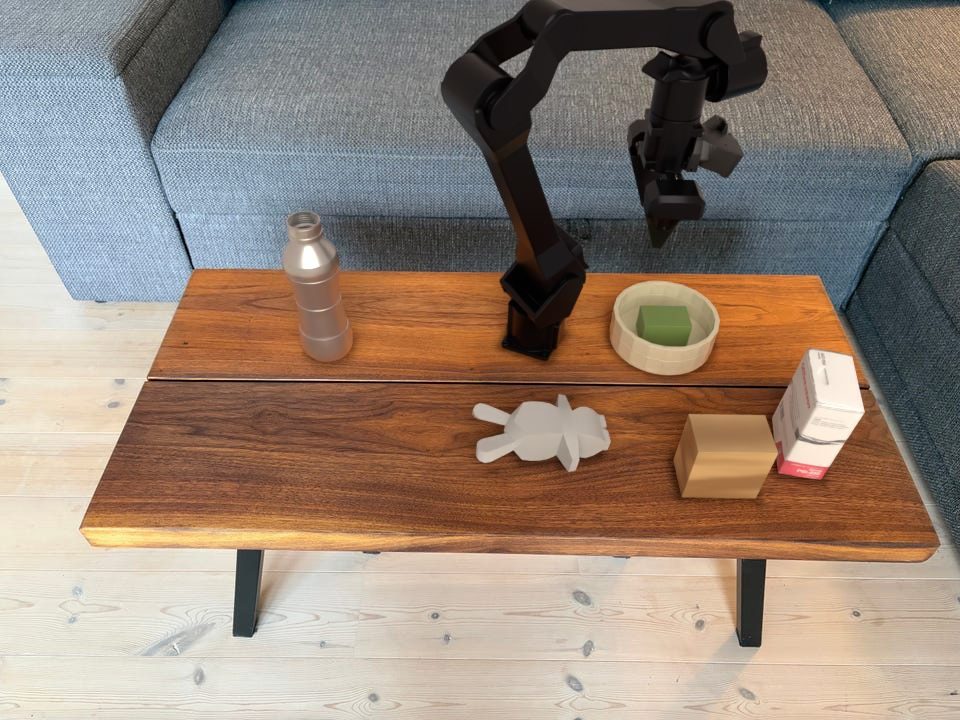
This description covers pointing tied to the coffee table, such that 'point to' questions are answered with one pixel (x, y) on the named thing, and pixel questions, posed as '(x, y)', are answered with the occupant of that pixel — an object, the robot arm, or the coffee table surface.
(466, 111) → the robot arm
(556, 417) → the bunny figurine
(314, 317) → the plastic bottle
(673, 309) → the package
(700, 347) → the bowl
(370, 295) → the coffee table surface
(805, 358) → the ink box
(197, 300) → the coffee table surface
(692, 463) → the block
